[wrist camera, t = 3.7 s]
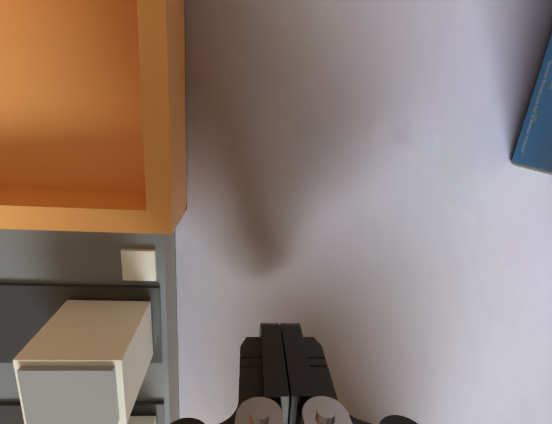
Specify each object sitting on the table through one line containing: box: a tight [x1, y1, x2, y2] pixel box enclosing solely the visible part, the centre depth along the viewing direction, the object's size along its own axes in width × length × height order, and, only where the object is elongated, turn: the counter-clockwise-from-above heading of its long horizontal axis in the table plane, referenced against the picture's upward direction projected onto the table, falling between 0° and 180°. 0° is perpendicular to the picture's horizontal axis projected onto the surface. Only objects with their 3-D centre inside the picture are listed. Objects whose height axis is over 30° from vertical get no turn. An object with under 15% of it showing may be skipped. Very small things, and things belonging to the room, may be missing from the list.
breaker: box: [13, 300, 153, 424], centre depth 12 cm, size 2×3×3 cm
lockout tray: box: [0, 0, 187, 234], centre depth 12 cm, size 9×11×3 cm
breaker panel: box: [0, 229, 179, 424], centre depth 15 cm, size 12×9×2 cm
